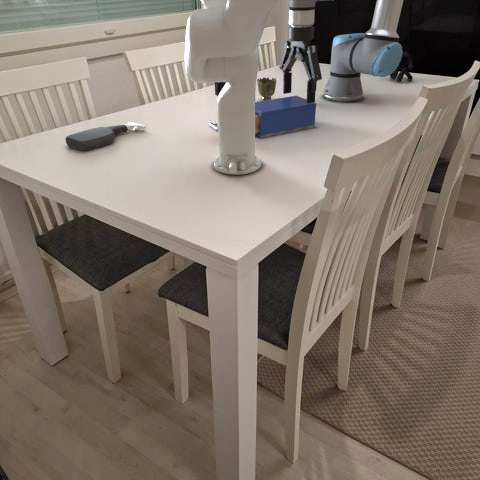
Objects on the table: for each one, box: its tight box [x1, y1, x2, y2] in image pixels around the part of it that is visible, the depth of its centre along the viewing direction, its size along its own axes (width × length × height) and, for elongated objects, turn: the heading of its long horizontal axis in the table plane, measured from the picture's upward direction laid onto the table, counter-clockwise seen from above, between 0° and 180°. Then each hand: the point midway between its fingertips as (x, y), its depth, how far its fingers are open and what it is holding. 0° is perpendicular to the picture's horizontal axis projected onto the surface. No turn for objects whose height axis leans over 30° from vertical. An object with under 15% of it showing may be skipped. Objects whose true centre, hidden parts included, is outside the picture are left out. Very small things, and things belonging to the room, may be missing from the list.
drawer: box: [208, 113, 260, 133], centre depth 140 cm, size 24×10×6 cm, turn 118°
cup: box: [256, 77, 277, 101], centre depth 173 cm, size 8×7×8 cm
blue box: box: [255, 95, 317, 139], centre depth 144 cm, size 20×11×8 cm, turn 118°
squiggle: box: [389, 51, 414, 83], centre depth 198 cm, size 11×10×15 cm
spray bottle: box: [64, 121, 147, 152], centre depth 139 cm, size 3×11×24 cm
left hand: (221, 95), depth 132 cm, fingers closed
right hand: (298, 97), depth 145 cm, fingers open, 13 cm apart
